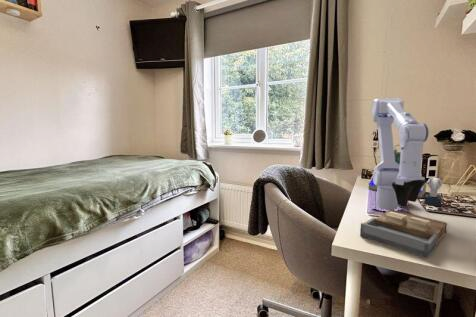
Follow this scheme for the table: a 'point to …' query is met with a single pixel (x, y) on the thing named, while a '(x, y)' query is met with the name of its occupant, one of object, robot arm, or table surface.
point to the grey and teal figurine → (433, 192)
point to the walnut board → (434, 228)
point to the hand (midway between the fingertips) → (406, 203)
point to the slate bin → (398, 239)
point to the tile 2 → (418, 223)
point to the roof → (374, 187)
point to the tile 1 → (395, 218)
